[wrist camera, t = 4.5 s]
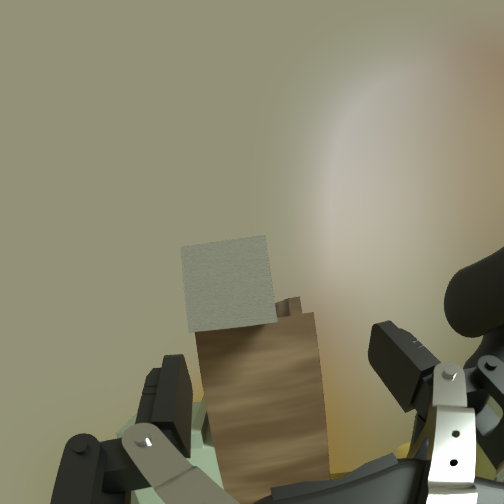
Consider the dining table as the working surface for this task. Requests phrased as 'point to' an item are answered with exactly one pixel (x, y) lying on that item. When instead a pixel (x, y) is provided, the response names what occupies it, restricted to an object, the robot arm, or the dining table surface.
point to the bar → (228, 284)
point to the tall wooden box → (265, 403)
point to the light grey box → (200, 451)
